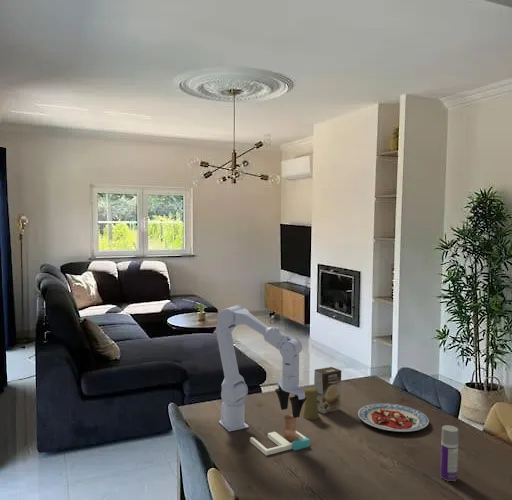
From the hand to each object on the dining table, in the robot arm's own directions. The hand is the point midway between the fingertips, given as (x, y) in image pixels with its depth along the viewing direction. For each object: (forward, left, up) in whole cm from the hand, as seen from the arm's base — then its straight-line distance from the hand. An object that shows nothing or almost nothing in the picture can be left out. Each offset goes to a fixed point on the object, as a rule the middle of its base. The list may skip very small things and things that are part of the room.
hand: (290, 413), depth 167 cm
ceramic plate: (+5, +43, -10) cm, 44 cm away
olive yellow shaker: (-13, +18, -10) cm, 24 cm away
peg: (0, 0, -9) cm, 9 cm away
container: (+43, +28, -10) cm, 52 cm away
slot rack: (+1, -5, -9) cm, 11 cm away
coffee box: (-16, +28, -10) cm, 34 cm away
